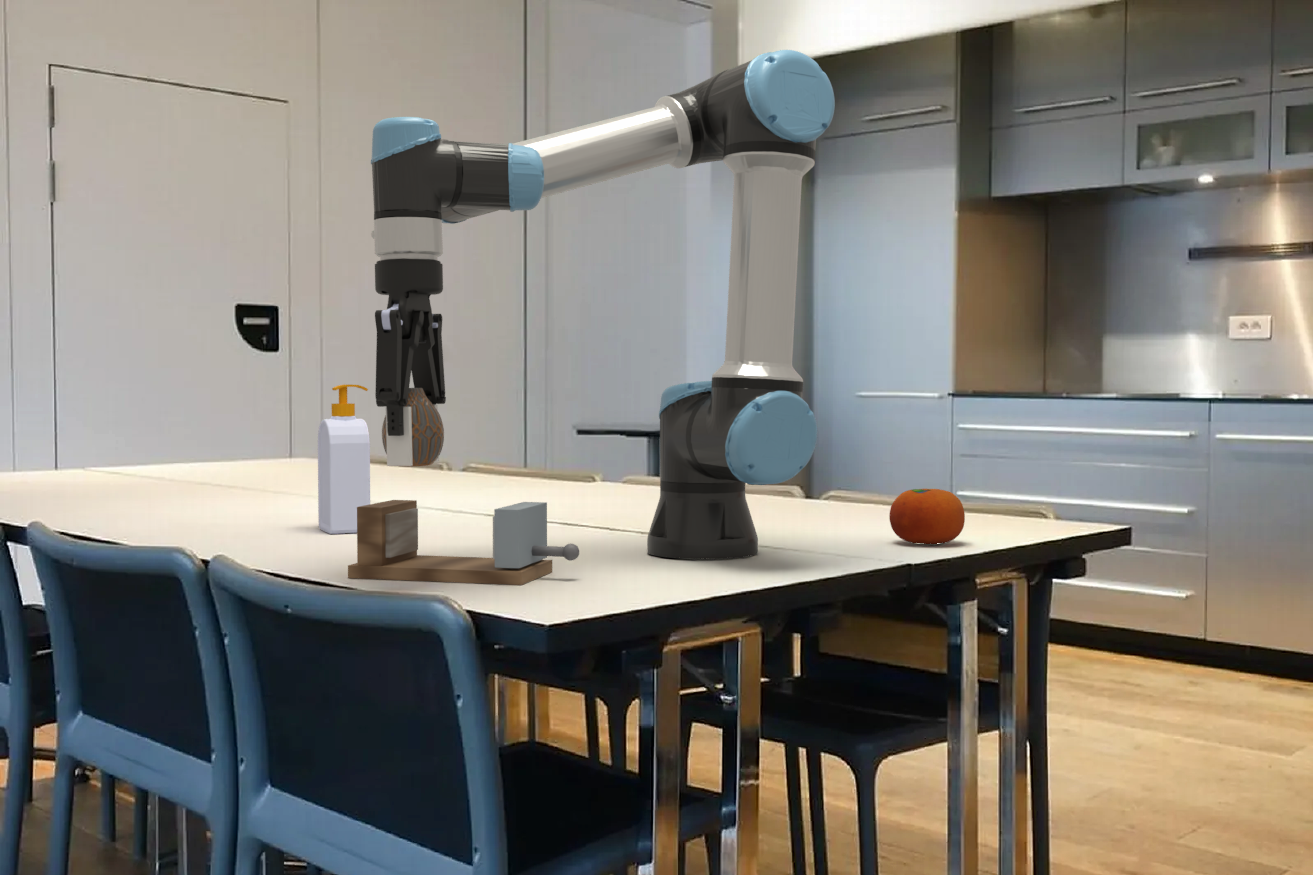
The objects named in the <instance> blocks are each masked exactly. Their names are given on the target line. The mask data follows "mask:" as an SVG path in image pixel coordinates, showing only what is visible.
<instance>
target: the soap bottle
mask: <svg viewBox="0 0 1313 875" xmlns="http://www.w3.org/2000/svg"><path fill="white" fill-rule="evenodd" d="M348 388H357V389H360V390H363V391H365V392H368V390H369V388H367V387H365V386H362V385H360V384H339V385H336V386H334V387H332V388H331V389H332V391H338V403H331V416H330V418H325V419H322V420H321V421H320V423H319V427H318V434H317V482H318V483H317V484H318V485H317V487H318V488H317V489H318V490H317V494H318V496H317V497H318V498H317V499H318V501H317V502H318V503H317V504H318V506H317V507H318V529H319V530H320V529H321V531H323V532H325V533H327V534H329V535H345V533H350V534H357V507H359V506H364V505H370V504H371V449H370V448H371V443H370V442H371V440H370V439H371V438H370V433H369V427H368V424H367V421H366V420H364V418H357V416H356V411H355V410H356V407H355V406H356V404H355V403H352V402H351V403H348Z"/></svg>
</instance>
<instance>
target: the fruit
mask: <svg viewBox="0 0 1313 875" xmlns="http://www.w3.org/2000/svg"><path fill="white" fill-rule="evenodd" d="M965 514H966V513H965V509H964V505H963V503H962V501H961V500H960V499H959V497H957V496H956V495H955V493H953V492H951V491H949V490H948V491H947V490H944V489H941V488H939V489H938V488H913V489H908V490H905V491H904V492H902V493H900V494H899V495H898V496H897V497H896V498H895V499H894V501H893V502H892V504H891V506H890V509H889V515H888V516H889V523H890V526H891V529H892V531H893V532H894V534H895V535H896V536H897V537H898V538H900V539H902V540H903V541H905V542H908V543H911V542H912V543H911V544H914V543H924V544H923V545H934V544H937V543H943V544H946V543H945V542H947V543H950V542H952V541H954V540H955V539H956V538H957V537H959V536H960V534H961V532H962V531H963V529H964V527H965V526H964V525H965V520H966V519H965V518H966V517H965ZM937 545H938V544H937Z"/></svg>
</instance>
